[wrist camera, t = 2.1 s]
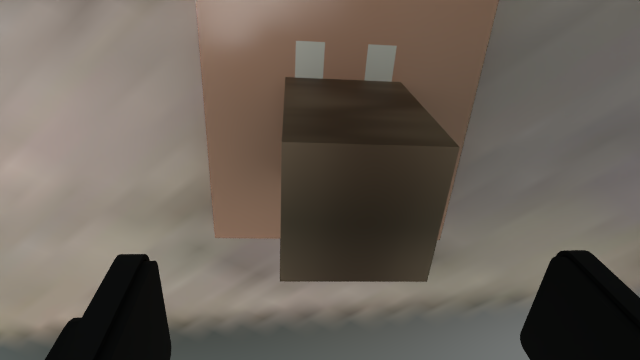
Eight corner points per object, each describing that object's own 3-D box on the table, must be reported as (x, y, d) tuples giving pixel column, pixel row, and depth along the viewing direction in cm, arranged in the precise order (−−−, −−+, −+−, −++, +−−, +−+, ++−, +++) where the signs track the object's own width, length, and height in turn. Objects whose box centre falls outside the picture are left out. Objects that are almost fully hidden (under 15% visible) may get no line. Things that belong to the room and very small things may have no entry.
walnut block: (400, 81, 17) (459, 147, 11) (385, 182, 20) (426, 281, 14) (285, 77, 17) (281, 142, 11) (283, 180, 19) (279, 281, 13)
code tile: (488, -4, 17) (499, -2, 16) (433, 229, 23) (439, 240, 22) (199, -21, 16) (193, -20, 15) (218, 226, 22) (214, 238, 21)
